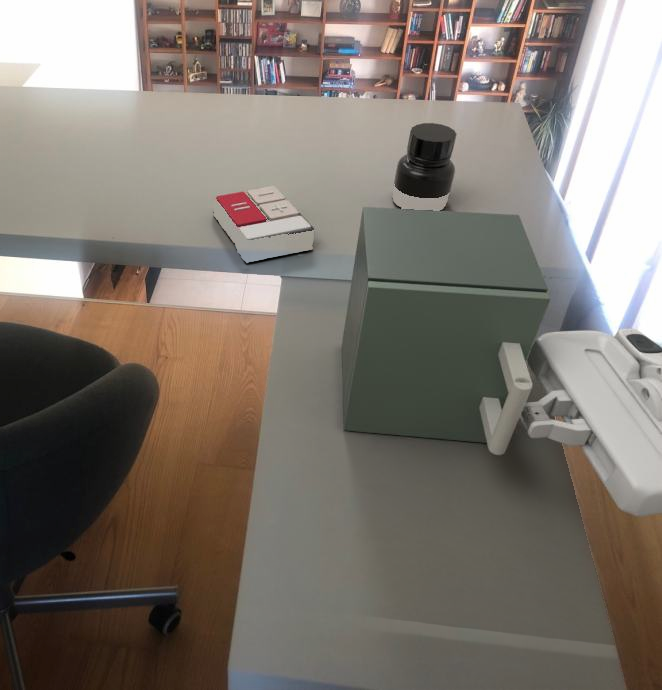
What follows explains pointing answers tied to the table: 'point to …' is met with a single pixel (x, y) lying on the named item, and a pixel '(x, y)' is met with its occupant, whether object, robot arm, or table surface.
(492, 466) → the table surface
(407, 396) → the cabinet door
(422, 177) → the ink bottle
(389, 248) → the green cabinet
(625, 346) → the robot arm
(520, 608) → the table surface
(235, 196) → the calculator
